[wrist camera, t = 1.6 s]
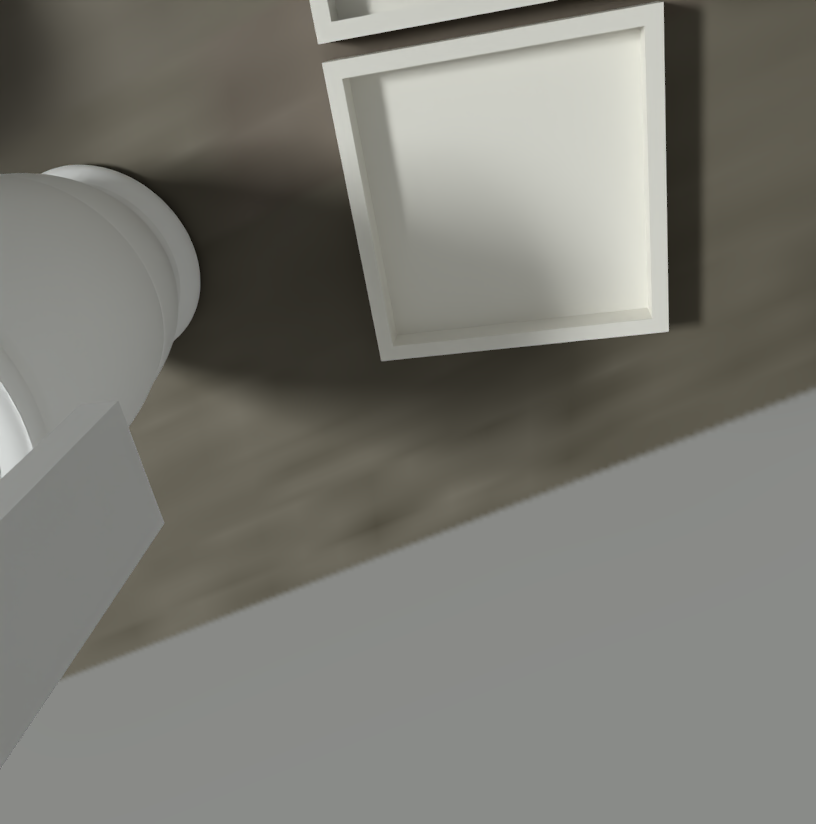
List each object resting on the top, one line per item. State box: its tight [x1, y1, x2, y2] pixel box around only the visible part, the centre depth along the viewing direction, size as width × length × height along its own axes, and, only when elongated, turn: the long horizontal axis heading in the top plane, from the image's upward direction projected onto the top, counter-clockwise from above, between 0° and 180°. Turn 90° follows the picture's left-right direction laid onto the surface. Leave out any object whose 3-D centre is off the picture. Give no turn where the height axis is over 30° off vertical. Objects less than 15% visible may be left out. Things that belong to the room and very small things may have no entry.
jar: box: [0, 165, 200, 479], centre depth 27 cm, size 11×10×15 cm
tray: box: [322, 1, 669, 361], centre depth 29 cm, size 11×11×1 cm
